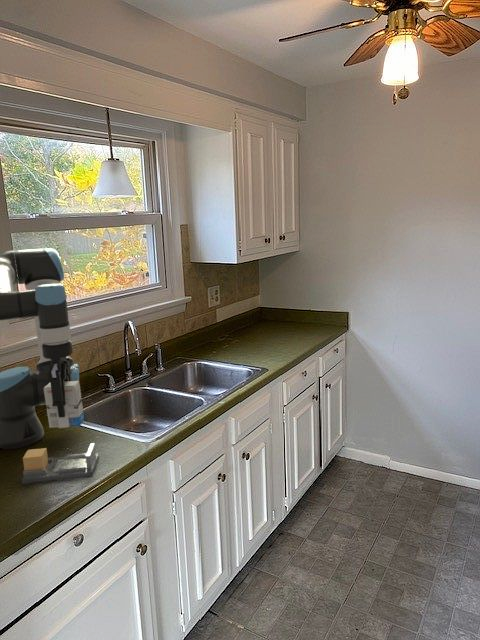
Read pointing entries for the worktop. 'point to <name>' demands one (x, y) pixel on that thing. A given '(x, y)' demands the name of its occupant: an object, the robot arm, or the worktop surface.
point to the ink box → (71, 400)
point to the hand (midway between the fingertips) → (66, 422)
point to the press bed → (65, 467)
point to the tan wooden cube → (35, 459)
